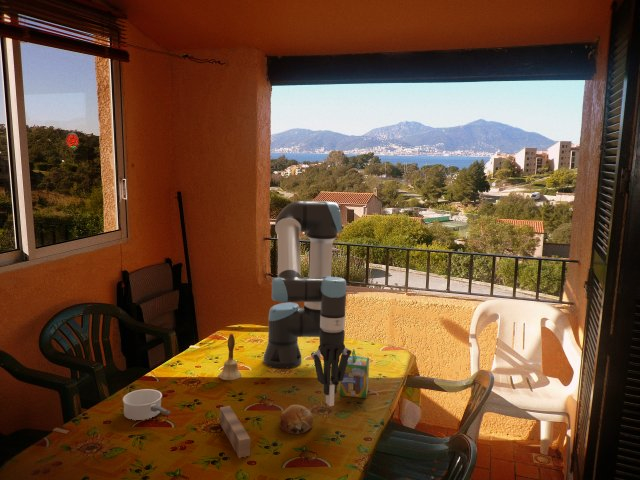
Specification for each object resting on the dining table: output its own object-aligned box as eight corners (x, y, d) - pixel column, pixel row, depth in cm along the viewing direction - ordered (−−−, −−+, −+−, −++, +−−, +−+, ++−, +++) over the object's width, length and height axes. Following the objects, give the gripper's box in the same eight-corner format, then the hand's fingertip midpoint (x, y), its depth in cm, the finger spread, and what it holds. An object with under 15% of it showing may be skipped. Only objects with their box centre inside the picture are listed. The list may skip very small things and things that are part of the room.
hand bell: (238, 370, 188) (238, 329, 186) (244, 378, 181) (245, 336, 179) (216, 373, 185) (216, 332, 182) (222, 382, 177) (222, 339, 175)
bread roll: (315, 435, 150) (319, 408, 152) (304, 437, 140) (309, 407, 143) (284, 429, 153) (289, 402, 155) (272, 430, 144) (277, 401, 146)
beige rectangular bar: (219, 423, 148) (219, 407, 147) (229, 421, 149) (229, 405, 148) (239, 458, 130) (239, 440, 129) (250, 456, 131) (250, 438, 131)
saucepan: (151, 438, 139) (150, 419, 138) (115, 414, 151) (115, 397, 151) (186, 423, 147) (186, 405, 147) (149, 402, 160) (149, 385, 159)
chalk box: (366, 399, 167) (367, 357, 165) (339, 396, 169) (340, 354, 167) (368, 388, 176) (370, 347, 174) (343, 385, 178) (344, 345, 176)
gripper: (318, 334, 143) (315, 413, 145) (357, 330, 148) (354, 405, 151) (307, 327, 149) (305, 402, 152) (345, 323, 155) (342, 395, 158)
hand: (329, 404), depth 152 cm, fingers closed
